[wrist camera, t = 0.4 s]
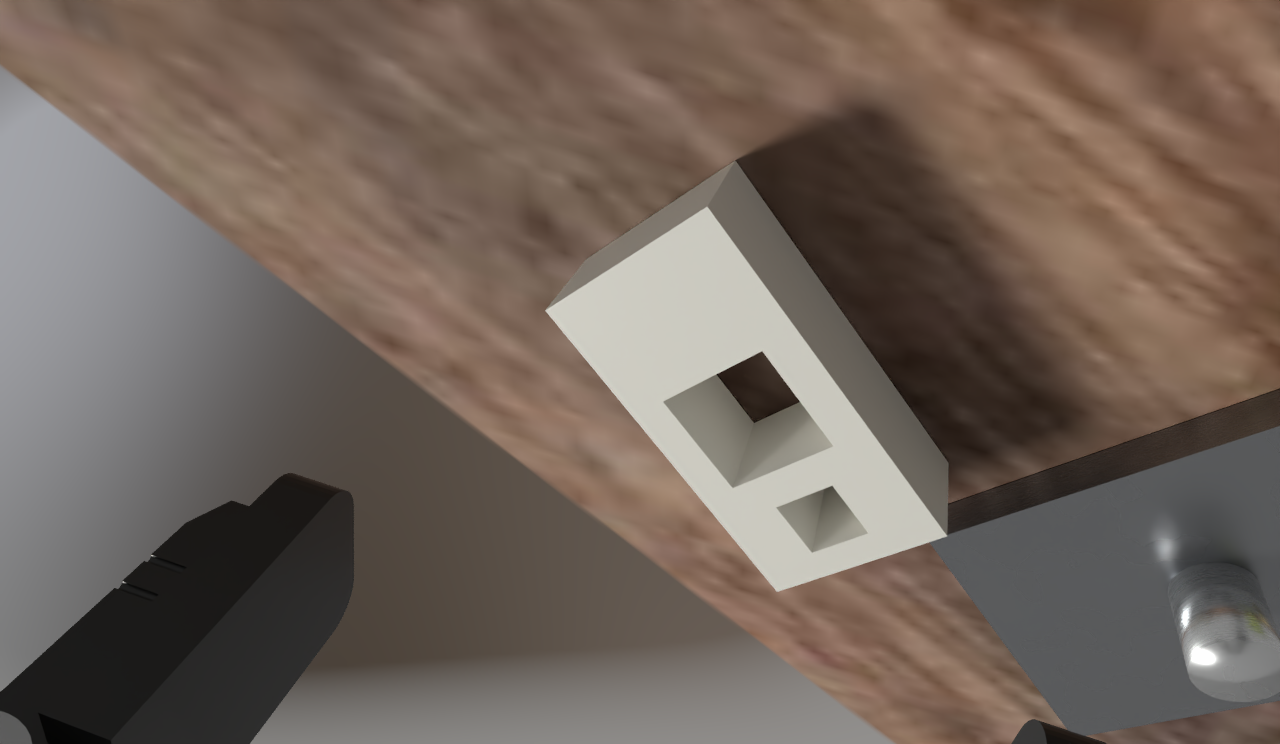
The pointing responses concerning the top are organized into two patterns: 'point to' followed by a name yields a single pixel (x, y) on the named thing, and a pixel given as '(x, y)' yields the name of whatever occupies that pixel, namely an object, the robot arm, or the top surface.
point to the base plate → (1137, 572)
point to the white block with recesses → (713, 419)
